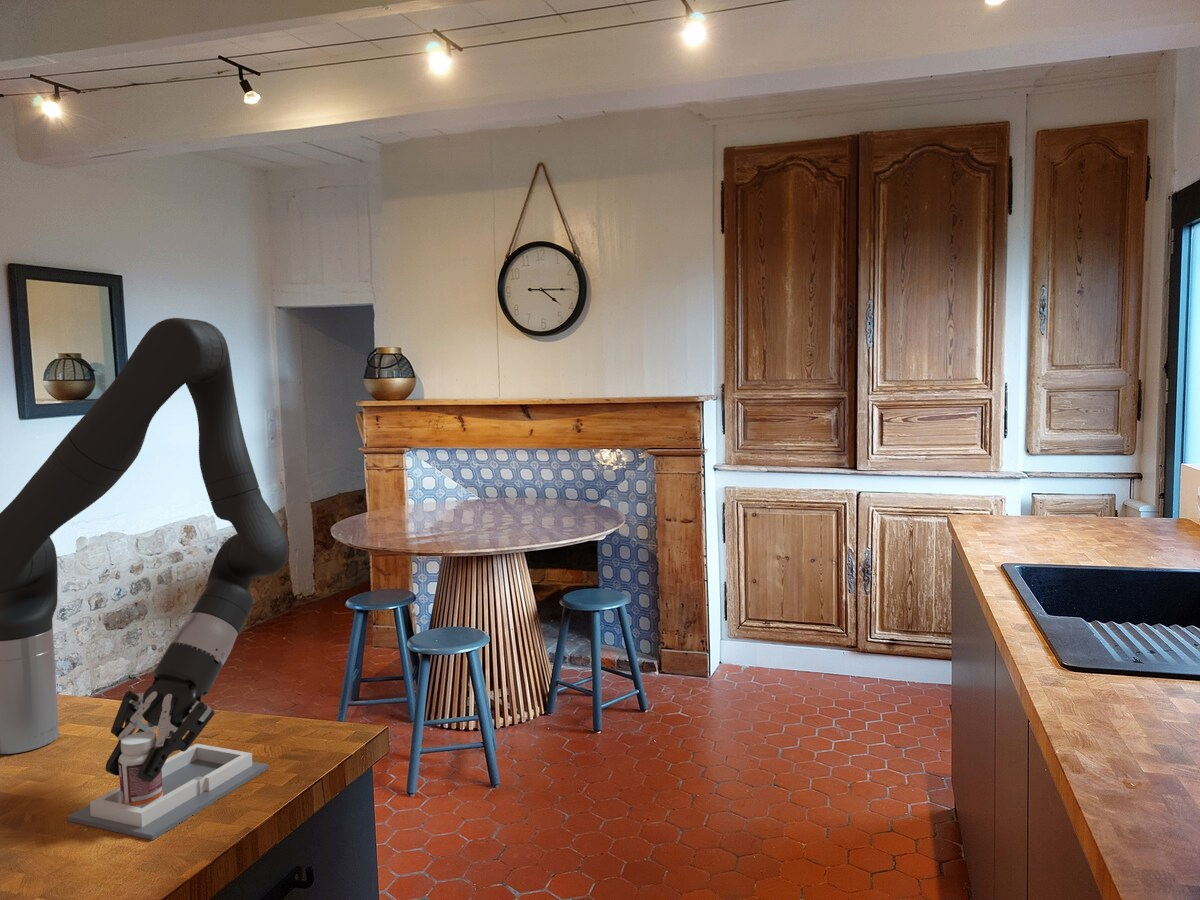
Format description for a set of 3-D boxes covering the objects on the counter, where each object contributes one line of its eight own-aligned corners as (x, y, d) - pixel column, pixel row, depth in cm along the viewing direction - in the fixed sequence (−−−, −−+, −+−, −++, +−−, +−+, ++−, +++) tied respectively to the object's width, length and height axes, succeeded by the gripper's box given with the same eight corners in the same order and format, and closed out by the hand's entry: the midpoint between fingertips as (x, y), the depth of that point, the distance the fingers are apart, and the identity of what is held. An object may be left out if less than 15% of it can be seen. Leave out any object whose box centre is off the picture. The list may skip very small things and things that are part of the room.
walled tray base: (67, 820, 107) (66, 802, 107) (192, 754, 126) (191, 738, 126) (152, 840, 102) (151, 821, 102) (268, 768, 121) (268, 752, 121)
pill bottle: (171, 794, 111) (168, 731, 110) (142, 812, 106) (139, 747, 106) (141, 789, 112) (138, 728, 112) (112, 807, 108) (108, 743, 107)
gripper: (140, 635, 117) (65, 757, 107) (223, 646, 112) (152, 774, 102) (173, 660, 122) (104, 778, 112) (253, 671, 118) (189, 796, 107)
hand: (128, 776), depth 107 cm, fingers closed on pill bottle, 4 cm apart
